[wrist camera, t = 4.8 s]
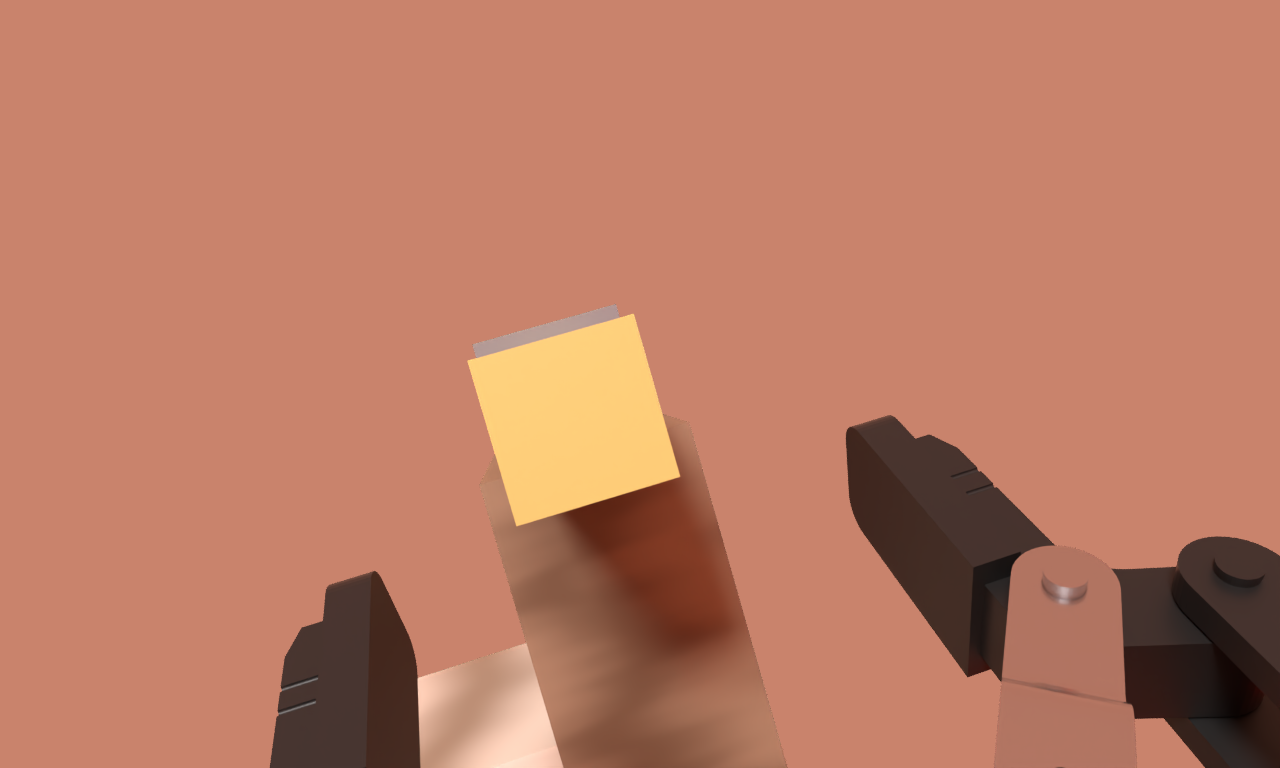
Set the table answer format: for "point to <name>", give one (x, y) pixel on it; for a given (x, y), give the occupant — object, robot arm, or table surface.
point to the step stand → (611, 642)
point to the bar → (572, 413)
